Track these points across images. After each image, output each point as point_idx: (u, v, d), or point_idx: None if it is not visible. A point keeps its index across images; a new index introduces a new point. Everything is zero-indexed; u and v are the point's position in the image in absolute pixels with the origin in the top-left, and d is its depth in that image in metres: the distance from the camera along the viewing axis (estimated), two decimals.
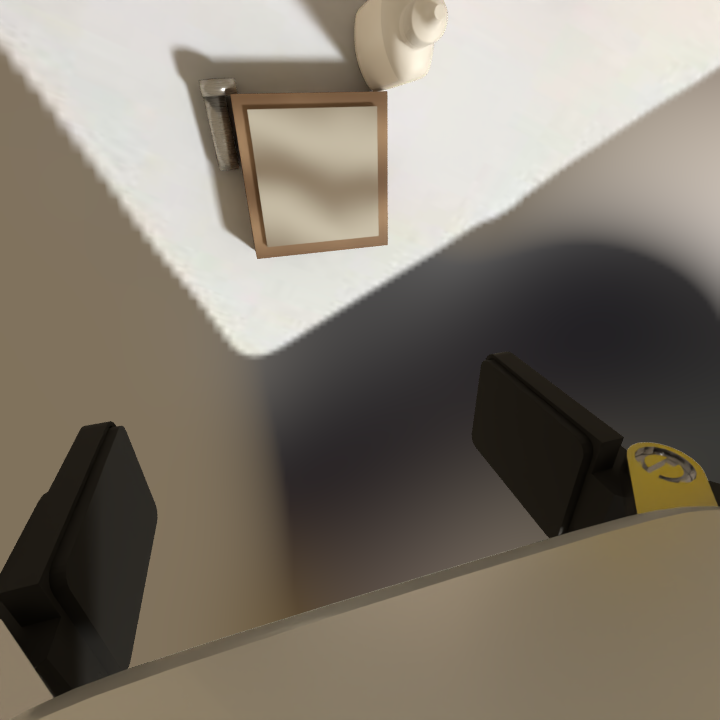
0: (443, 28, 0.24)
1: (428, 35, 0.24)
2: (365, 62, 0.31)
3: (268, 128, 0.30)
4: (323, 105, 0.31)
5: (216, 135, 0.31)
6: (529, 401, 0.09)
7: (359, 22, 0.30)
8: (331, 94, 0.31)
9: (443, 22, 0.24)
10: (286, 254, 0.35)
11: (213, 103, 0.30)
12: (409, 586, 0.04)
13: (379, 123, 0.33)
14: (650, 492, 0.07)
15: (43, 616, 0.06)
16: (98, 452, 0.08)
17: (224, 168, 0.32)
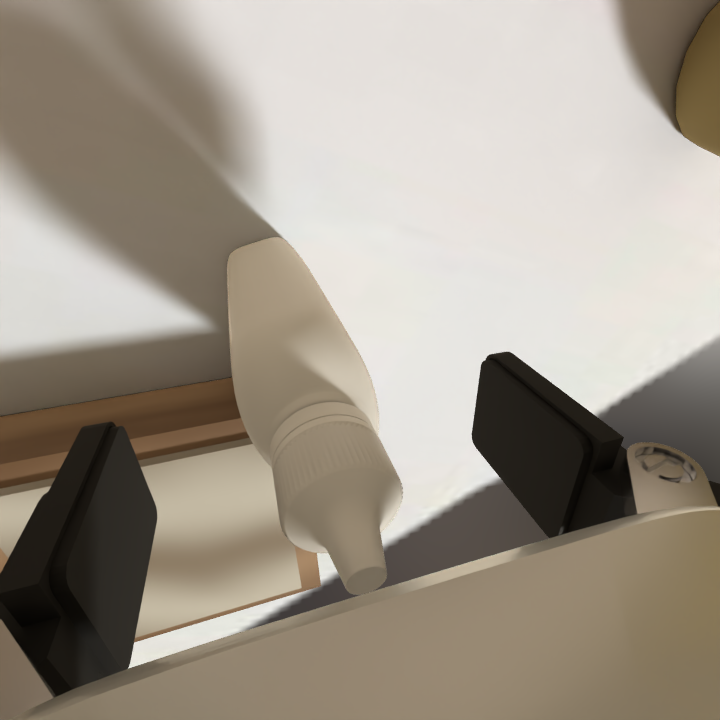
0: (390, 520, 0.08)
1: None
2: None
3: None
4: (158, 453, 0.15)
5: None
6: (529, 401, 0.09)
7: None
8: (173, 434, 0.14)
9: (388, 515, 0.08)
10: None
11: None
12: (409, 586, 0.04)
13: None
14: (650, 492, 0.07)
15: (43, 616, 0.06)
16: (98, 452, 0.08)
17: None
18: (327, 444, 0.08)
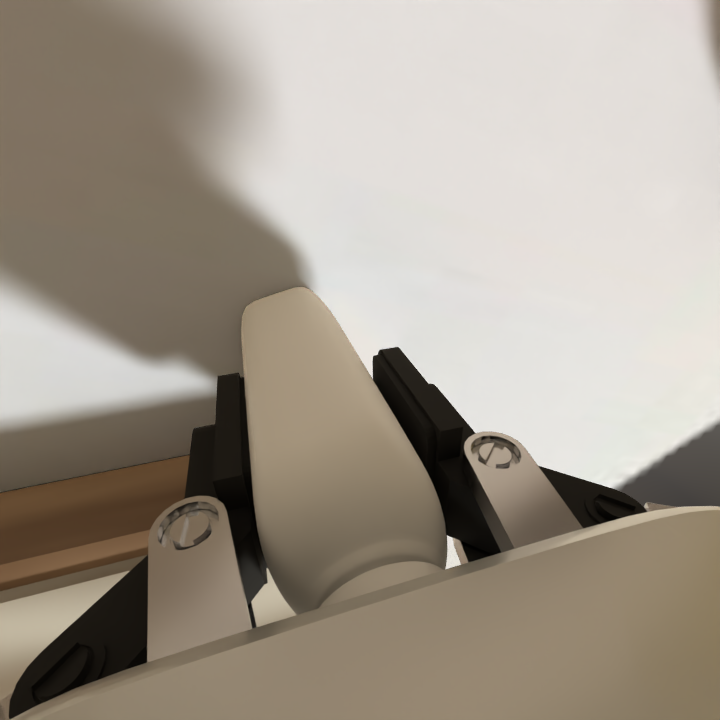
0: None
1: None
2: None
3: (0, 634, 0.11)
4: None
5: None
6: (398, 394, 0.10)
7: None
8: None
9: None
10: None
11: None
12: (409, 586, 0.04)
13: None
14: (498, 487, 0.07)
15: (239, 504, 0.07)
16: (239, 394, 0.10)
17: None
18: None
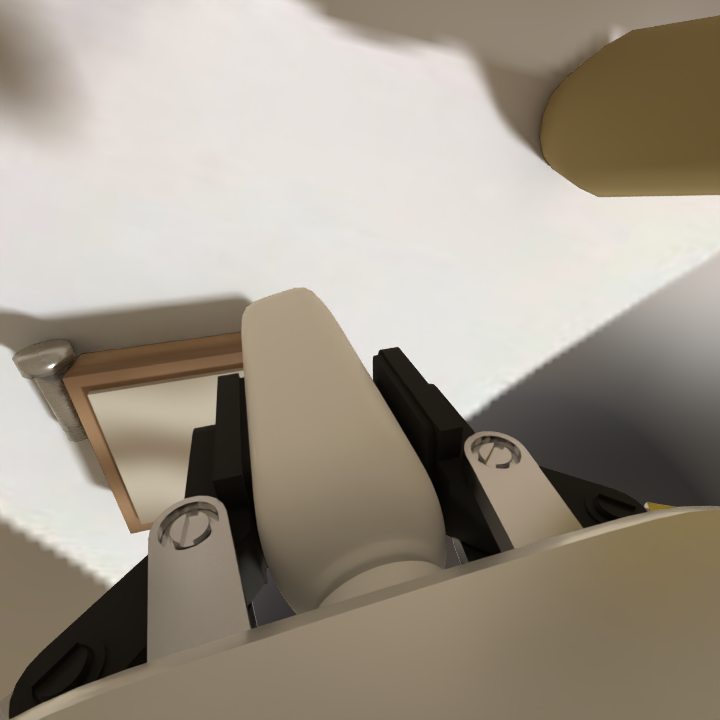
0: None
1: None
2: None
3: (122, 409, 0.22)
4: (201, 372, 0.23)
5: (51, 408, 0.23)
6: (398, 393, 0.10)
7: None
8: (210, 358, 0.23)
9: None
10: None
11: (37, 378, 0.22)
12: (409, 586, 0.04)
13: None
14: (498, 487, 0.07)
15: (239, 504, 0.07)
16: (239, 394, 0.10)
17: (69, 439, 0.24)
18: None
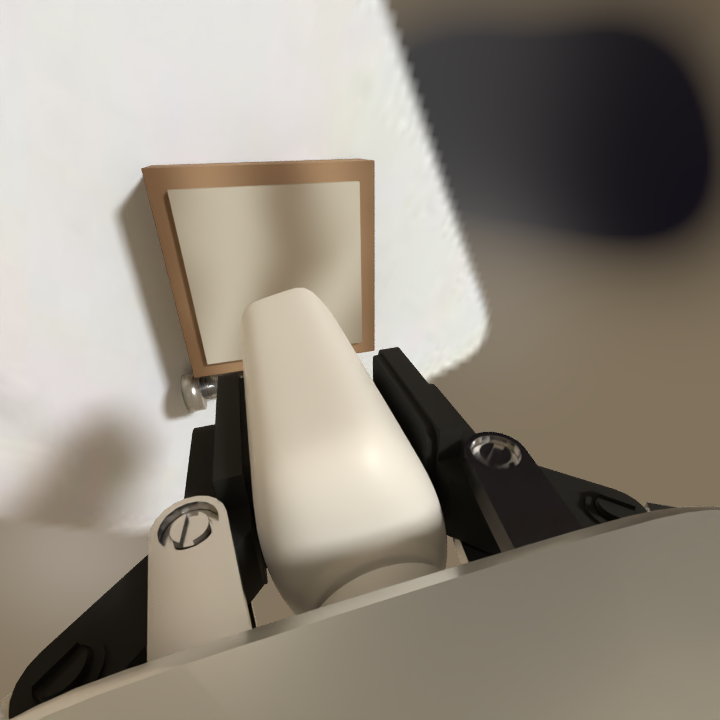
0: None
1: None
2: None
3: (224, 342, 0.24)
4: (184, 271, 0.22)
5: None
6: (398, 394, 0.10)
7: None
8: (167, 260, 0.22)
9: None
10: (372, 317, 0.27)
11: None
12: (409, 586, 0.04)
13: (191, 181, 0.20)
14: (498, 487, 0.07)
15: (238, 504, 0.07)
16: (239, 394, 0.10)
17: None
18: None
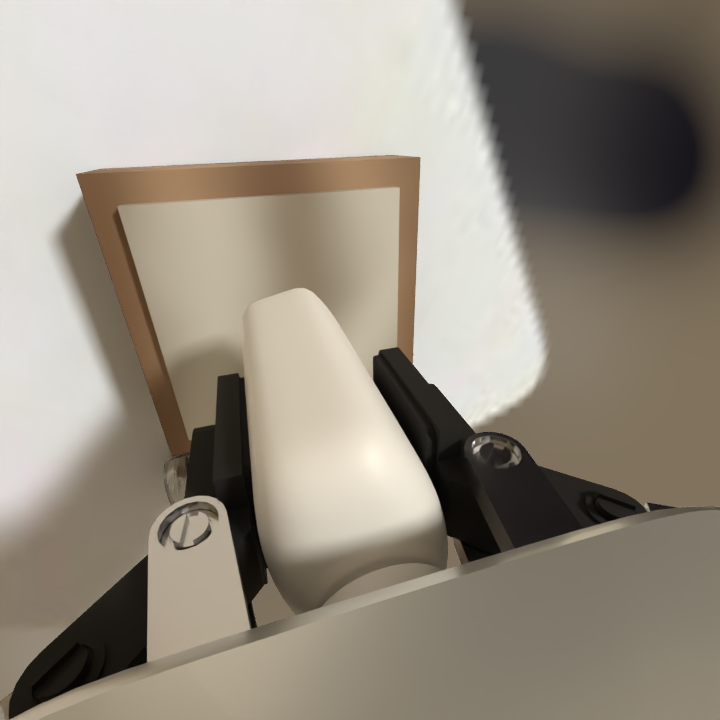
0: None
1: None
2: None
3: (211, 410, 0.18)
4: (150, 319, 0.16)
5: None
6: (398, 393, 0.10)
7: None
8: (124, 305, 0.15)
9: None
10: None
11: None
12: (409, 586, 0.04)
13: (154, 192, 0.14)
14: (498, 487, 0.07)
15: (239, 504, 0.07)
16: (239, 394, 0.10)
17: None
18: None
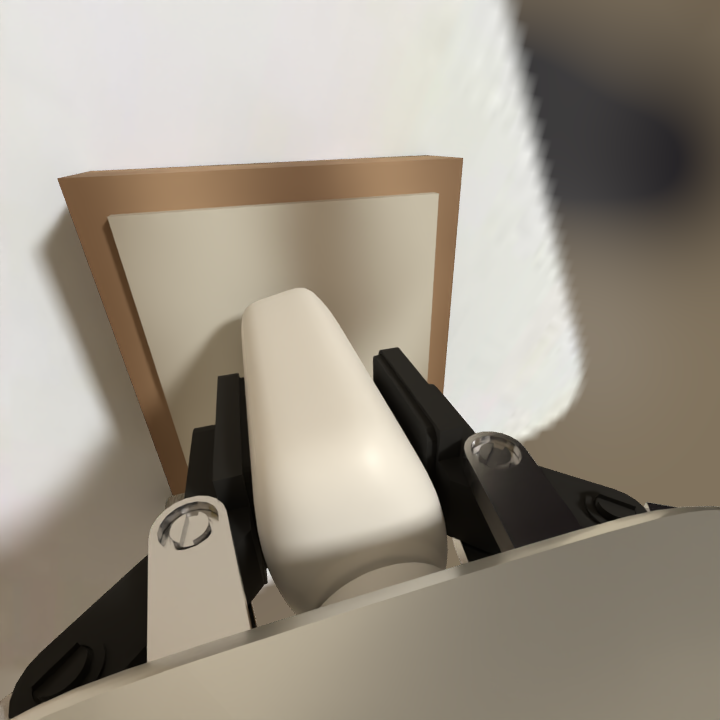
0: None
1: None
2: None
3: None
4: (148, 346, 0.13)
5: None
6: (398, 393, 0.10)
7: None
8: (117, 331, 0.13)
9: None
10: None
11: None
12: (409, 586, 0.04)
13: (151, 199, 0.12)
14: (498, 487, 0.07)
15: (238, 504, 0.07)
16: (239, 394, 0.10)
17: None
18: None
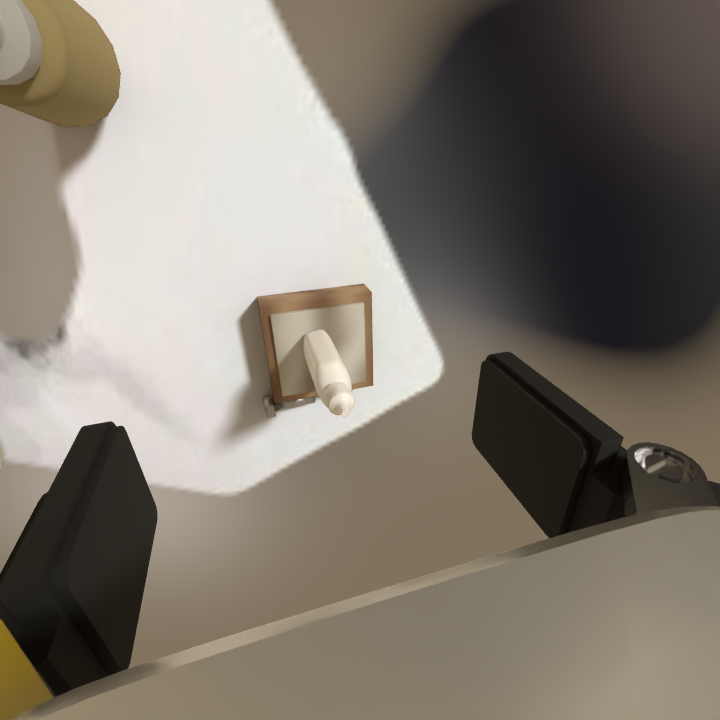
0: (351, 408, 0.36)
1: (341, 413, 0.36)
2: None
3: (292, 384, 0.46)
4: (274, 350, 0.43)
5: (295, 406, 0.50)
6: (529, 401, 0.09)
7: (305, 348, 0.42)
8: (266, 345, 0.43)
9: (351, 406, 0.36)
10: (372, 367, 0.48)
11: (279, 410, 0.49)
12: (409, 586, 0.04)
13: (281, 309, 0.42)
14: (650, 492, 0.07)
15: (43, 616, 0.06)
16: (98, 452, 0.08)
17: (314, 402, 0.50)
18: (338, 389, 0.36)
